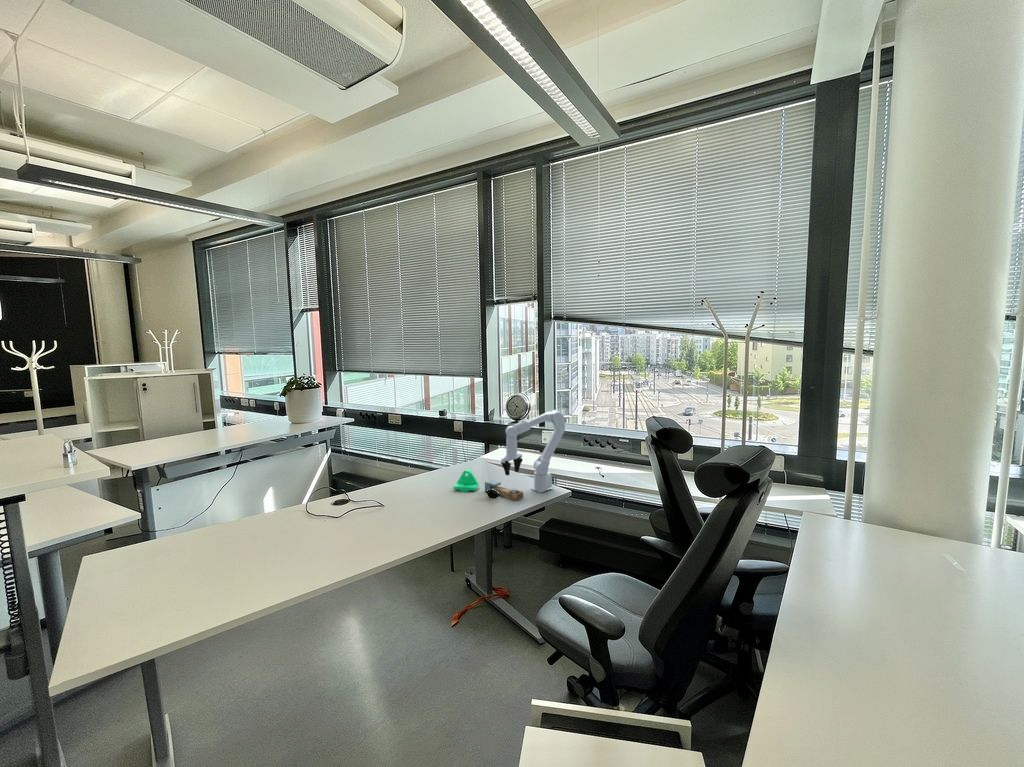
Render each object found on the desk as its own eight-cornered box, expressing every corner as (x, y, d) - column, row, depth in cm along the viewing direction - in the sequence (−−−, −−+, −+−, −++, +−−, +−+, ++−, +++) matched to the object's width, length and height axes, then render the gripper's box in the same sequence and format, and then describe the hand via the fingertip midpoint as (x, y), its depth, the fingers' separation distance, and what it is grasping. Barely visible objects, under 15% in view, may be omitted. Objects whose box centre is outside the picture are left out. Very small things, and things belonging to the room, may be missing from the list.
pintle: (514, 496, 231) (514, 488, 231) (517, 498, 230) (517, 489, 229) (511, 497, 230) (510, 489, 229) (513, 499, 228) (513, 490, 228)
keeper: (484, 491, 240) (484, 481, 240) (491, 488, 244) (491, 479, 243) (494, 494, 235) (494, 484, 235) (501, 491, 239) (501, 482, 239)
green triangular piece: (453, 491, 241) (453, 472, 240) (457, 486, 249) (457, 468, 248) (474, 492, 239) (474, 473, 238) (478, 487, 247) (478, 469, 246)
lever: (523, 497, 230) (523, 491, 230) (515, 500, 225) (515, 495, 225) (498, 490, 241) (498, 485, 241) (490, 493, 236) (490, 488, 236)
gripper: (515, 444, 245) (515, 468, 247) (496, 449, 235) (497, 475, 236) (524, 446, 241) (525, 471, 242) (506, 452, 230) (507, 477, 231)
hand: (512, 473), depth 239 cm, fingers open, 7 cm apart
